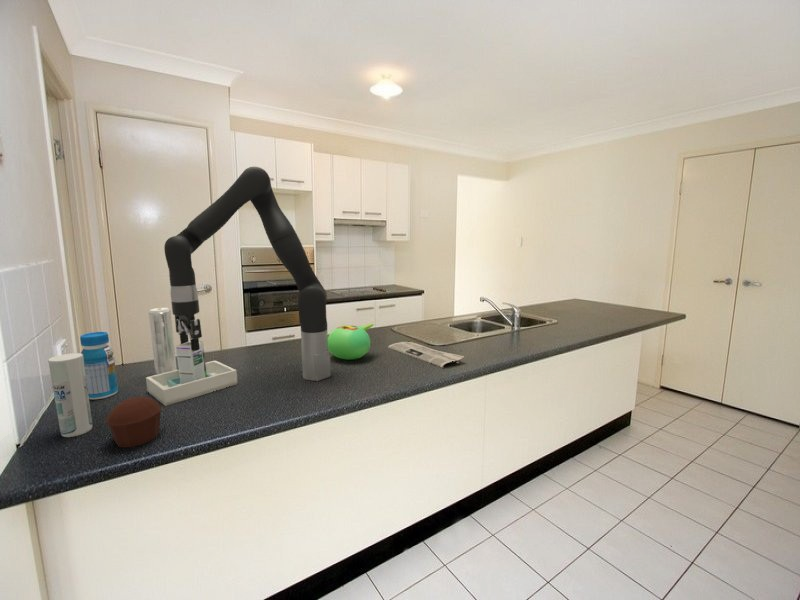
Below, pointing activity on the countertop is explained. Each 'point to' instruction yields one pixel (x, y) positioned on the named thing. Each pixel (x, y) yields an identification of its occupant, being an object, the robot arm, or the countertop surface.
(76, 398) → the spray can
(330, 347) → the green rounded pot shape
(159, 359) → the silver metal cylinder
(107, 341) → the blue supplement bottle
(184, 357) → the syrup box
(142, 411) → the muffin
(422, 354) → the newspaper
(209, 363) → the bin
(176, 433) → the countertop surface
